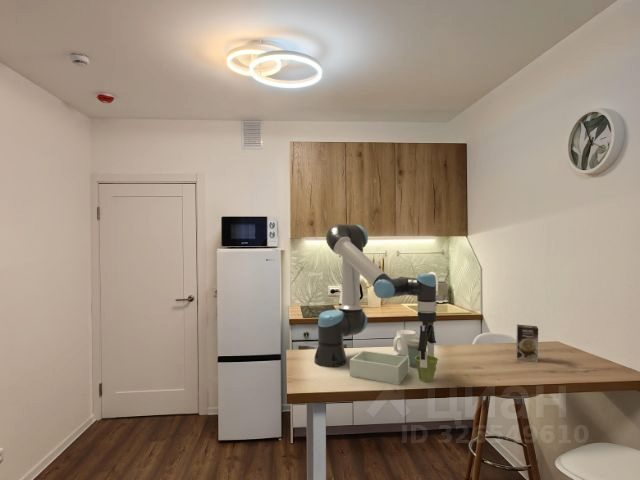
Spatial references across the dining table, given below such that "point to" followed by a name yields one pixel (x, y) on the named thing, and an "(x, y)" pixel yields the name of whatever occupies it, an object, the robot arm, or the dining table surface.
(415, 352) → the coffee cup
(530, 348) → the coffee box
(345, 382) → the dining table surface
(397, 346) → the mug
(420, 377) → the plant pot
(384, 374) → the box
